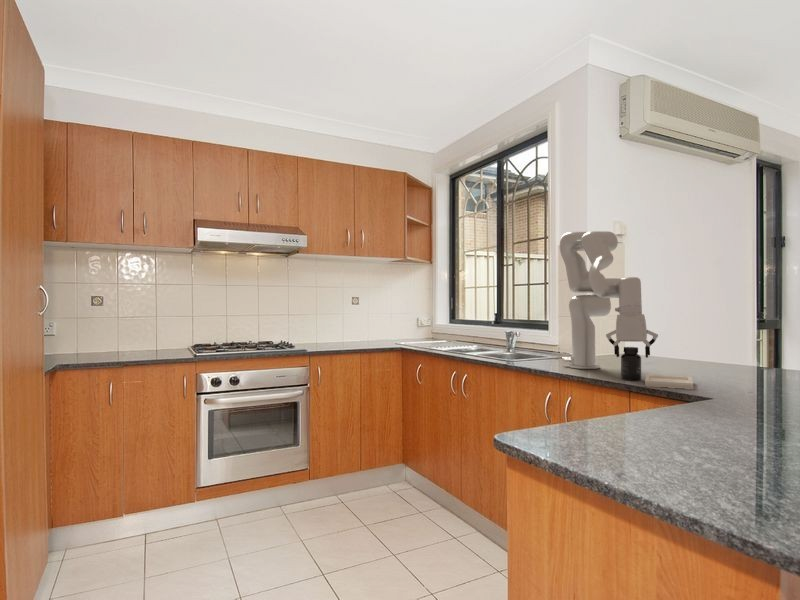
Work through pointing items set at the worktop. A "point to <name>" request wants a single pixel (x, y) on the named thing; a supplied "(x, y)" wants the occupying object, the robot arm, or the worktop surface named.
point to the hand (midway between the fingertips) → (632, 357)
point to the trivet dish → (668, 381)
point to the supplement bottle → (631, 364)
